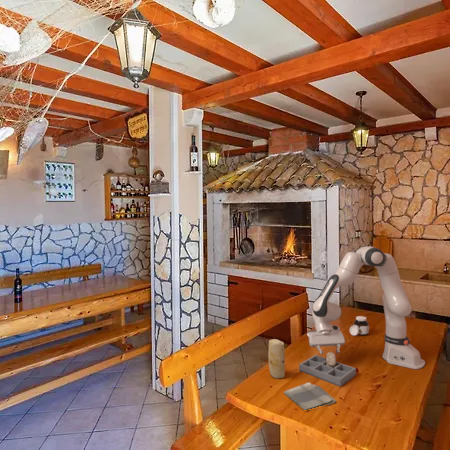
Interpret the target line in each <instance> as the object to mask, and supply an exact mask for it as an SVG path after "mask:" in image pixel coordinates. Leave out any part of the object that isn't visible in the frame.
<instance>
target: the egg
mask: <svg viewBox="0 0 450 450" xmlns="http://www.w3.org/2000/svg"><path fill="white" fill-rule="evenodd" d="M326 358H327V366H329V367H332V368H334V367H335V362H336V355H335V353H334V352H332V351H329V352H327V353H326Z"/></svg>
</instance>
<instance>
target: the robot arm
mask: <svg viewBox="0 0 450 450" xmlns="http://www.w3.org/2000/svg"><path fill="white" fill-rule="evenodd" d="M364 265H366V266H370V267H375V268H376V271H377V274H378V278H379V279H378V280H379V283H380V286H381V288H382V290H383V292H384V293H383V294H382V298H381V299H382V303H383V310H384V311H383V312H384V319H385V333H384V343H385V344H384V350H383V353H382V358H383V359H384V360H385V361H386V363H388V364H391V365H395V366H399V367H404V368H408V369H413V370H419V369H422V368H424V366H425V365H426V360H424V359H422V357H421V353H420V351H419V350H417V348H416V347H414V346H413V345H412V344H411V343H410V341H411V337H410V338H409V337H408V336H407V320H406V317H407V316H410V314H411V312H412V310H413V306H412V305H411V302H410V301H409V298H408V296H407V293H406V290H405V288H404V286H403V283H402V280H401V276H400V273H399V269H398V266H397V264H396V261H395V259H394V257H393V256H392V255H391V254H390V253H385V252H383V251H382V250H381V249H380V248H378V247H375V246H370V245H369V246H367V245H363V246H360V247H358V248H357V249H355V251H349V252H347V253H345V255H344V256H343V258H342V260H341V262H340V264H339V266H338V268H337V270H336V271H335V273H334V274H331V276H330V277H329V278H328V280H327V281H326V283H325V285H324V286H323V288H322V290H321V292H320V293H319V295H318V296H317V298H316V299H315V300H314V301H313V303H312V306H311V313H312V314H311V315H312V319H313V322H314V326H315V330H314V329H313V330H309V331H308V332H307V337H308V343H309V346H310V347H311V348H316V349H317V350H318V351H319V354H320V355H323V354H324V350H323V349H321V347H322V348H323V347H336V348H337V349H335V353H336V354H340V352H341V351H340V348H341V346H344V345H345V343H346V339H345V337H344V335H343V332H342V331H341V328H340V326H339V325H333V324H331V322H333V321H337V320H339V319H340V318H341V315H342V309H341V307H340V305H339V304H337V303H333V302H331V301H329V300H330V299H331V297H332V295H333V293H334V292H335V291H336V289H338V288H340V287H344V286H350V285H352V284H353V283H354V282H355V281H356V280H357V279H356V278H357V276H358V275H359V273H360V269H361V267H363V266H364Z"/></svg>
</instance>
